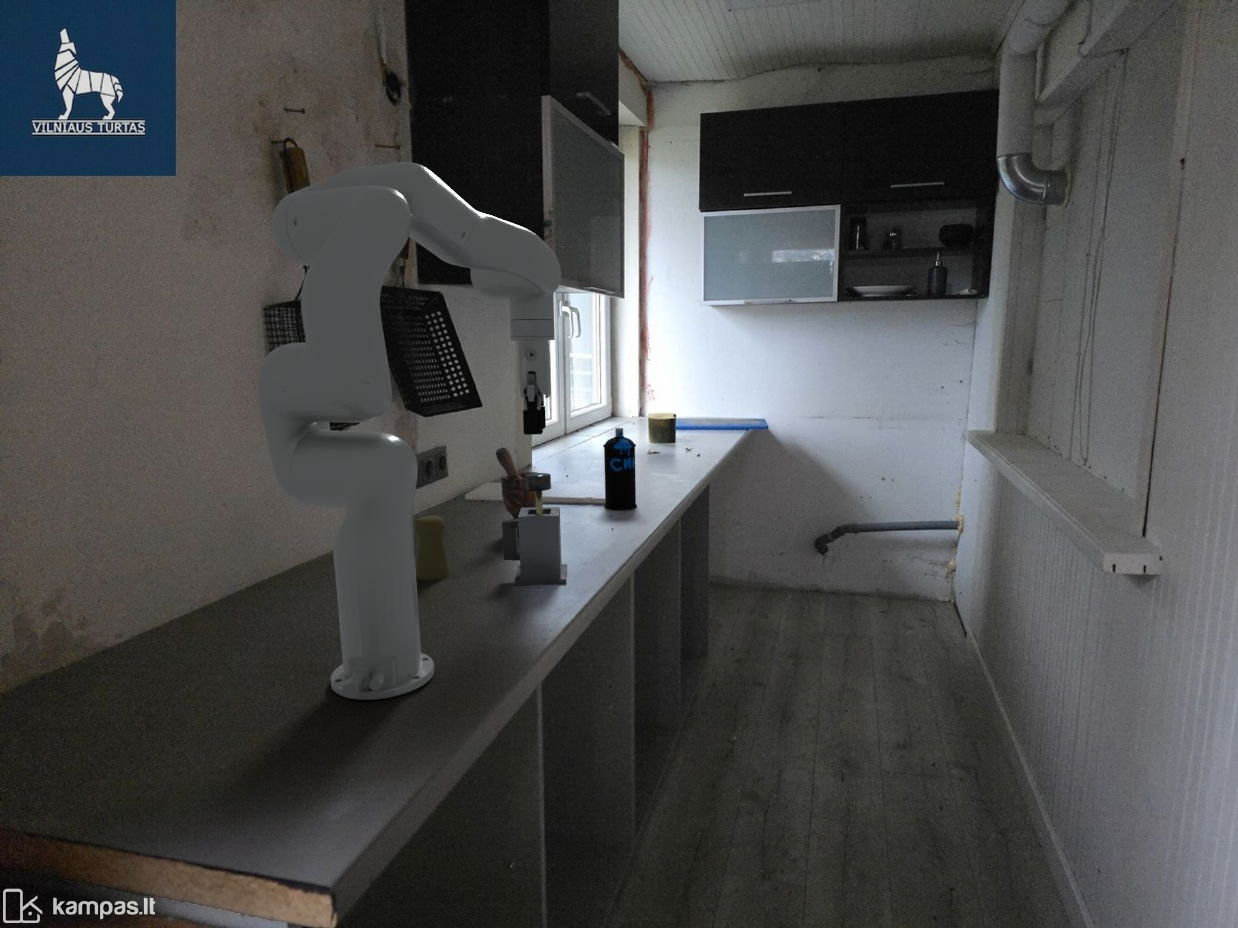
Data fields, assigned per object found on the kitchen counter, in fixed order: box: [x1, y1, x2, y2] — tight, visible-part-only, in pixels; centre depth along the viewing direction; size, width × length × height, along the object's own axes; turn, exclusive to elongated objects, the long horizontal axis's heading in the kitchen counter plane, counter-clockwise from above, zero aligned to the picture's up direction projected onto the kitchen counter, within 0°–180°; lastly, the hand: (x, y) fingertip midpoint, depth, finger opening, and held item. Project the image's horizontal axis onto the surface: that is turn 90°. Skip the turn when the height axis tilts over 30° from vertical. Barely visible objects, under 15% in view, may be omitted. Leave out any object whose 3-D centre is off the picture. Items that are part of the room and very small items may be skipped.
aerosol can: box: [602, 427, 638, 511], centre depth 190 cm, size 8×8×20 cm
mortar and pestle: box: [495, 447, 538, 538], centre depth 165 cm, size 12×9×20 cm
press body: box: [501, 506, 568, 586], centre depth 136 cm, size 9×11×12 cm
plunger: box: [526, 472, 552, 514], centre depth 135 cm, size 4×4×15 cm
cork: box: [415, 515, 451, 581], centre depth 138 cm, size 6×6×11 cm
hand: (535, 431), depth 132 cm, fingers open, 9 cm apart
